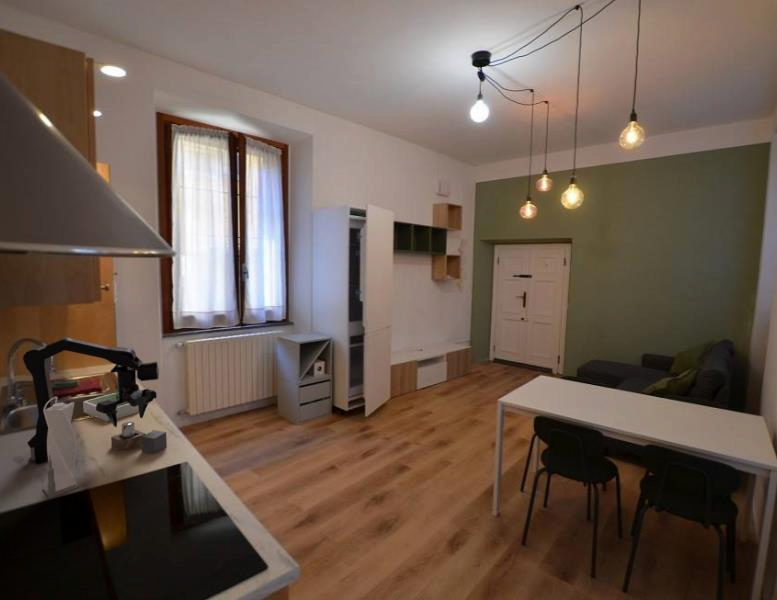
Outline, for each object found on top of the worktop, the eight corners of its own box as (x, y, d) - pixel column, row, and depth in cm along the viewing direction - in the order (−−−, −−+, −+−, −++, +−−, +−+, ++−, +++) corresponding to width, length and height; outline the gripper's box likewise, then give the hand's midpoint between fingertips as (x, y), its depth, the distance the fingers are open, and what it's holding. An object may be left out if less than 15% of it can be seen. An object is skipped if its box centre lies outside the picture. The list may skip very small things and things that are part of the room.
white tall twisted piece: (42, 487, 119) (36, 399, 116) (74, 476, 126) (69, 392, 123) (49, 498, 114) (43, 406, 111) (83, 485, 121) (78, 399, 118)
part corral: (107, 421, 166) (106, 410, 166) (83, 412, 175) (82, 401, 175) (140, 411, 178) (140, 400, 178) (116, 402, 188) (116, 392, 187)
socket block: (123, 452, 141) (123, 442, 141) (111, 447, 145) (111, 436, 144) (146, 443, 148) (145, 433, 148) (133, 438, 152) (133, 428, 152)
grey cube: (154, 454, 141) (154, 438, 140) (141, 452, 142) (141, 436, 141) (166, 447, 146) (166, 432, 146) (154, 445, 148) (153, 430, 147)
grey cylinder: (126, 447, 144) (125, 427, 143) (120, 445, 146) (119, 424, 145) (137, 443, 147) (136, 423, 146) (131, 440, 149) (130, 420, 148)
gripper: (111, 393, 132) (113, 437, 134) (164, 379, 149) (166, 418, 150) (94, 387, 137) (96, 429, 139) (147, 374, 154) (148, 412, 155)
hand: (128, 422), depth 146 cm, fingers open, 9 cm apart
